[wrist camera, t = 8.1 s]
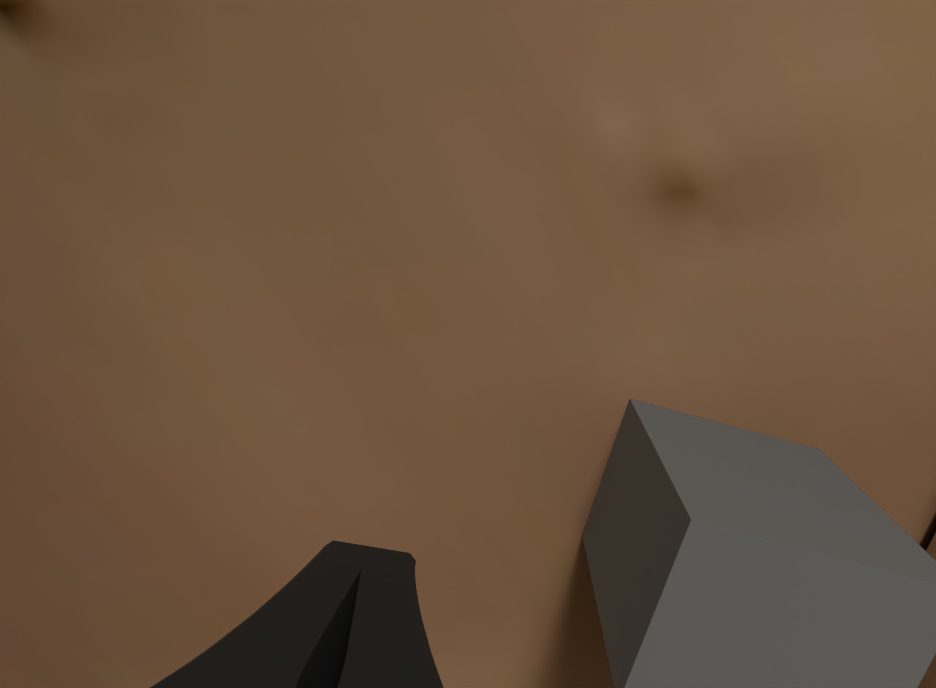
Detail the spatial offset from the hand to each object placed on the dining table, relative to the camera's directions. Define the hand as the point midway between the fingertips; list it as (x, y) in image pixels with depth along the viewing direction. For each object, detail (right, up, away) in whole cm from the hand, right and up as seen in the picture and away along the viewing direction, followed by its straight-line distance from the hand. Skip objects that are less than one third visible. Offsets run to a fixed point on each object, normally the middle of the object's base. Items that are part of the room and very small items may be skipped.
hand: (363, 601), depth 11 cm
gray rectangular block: (+8, 0, +7) cm, 11 cm away
